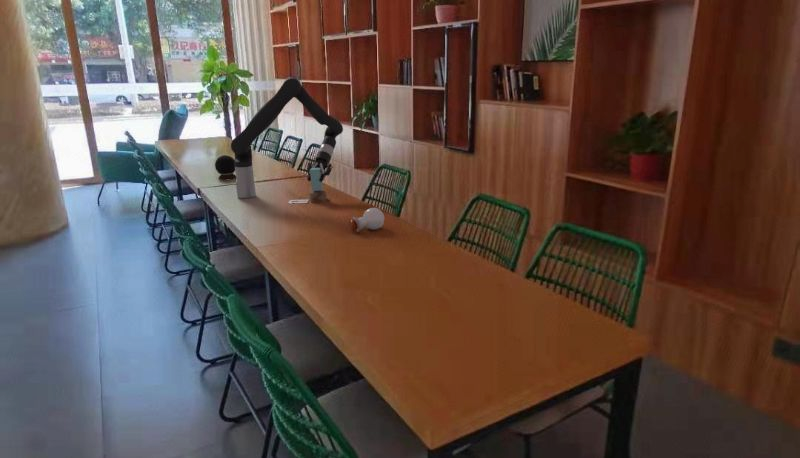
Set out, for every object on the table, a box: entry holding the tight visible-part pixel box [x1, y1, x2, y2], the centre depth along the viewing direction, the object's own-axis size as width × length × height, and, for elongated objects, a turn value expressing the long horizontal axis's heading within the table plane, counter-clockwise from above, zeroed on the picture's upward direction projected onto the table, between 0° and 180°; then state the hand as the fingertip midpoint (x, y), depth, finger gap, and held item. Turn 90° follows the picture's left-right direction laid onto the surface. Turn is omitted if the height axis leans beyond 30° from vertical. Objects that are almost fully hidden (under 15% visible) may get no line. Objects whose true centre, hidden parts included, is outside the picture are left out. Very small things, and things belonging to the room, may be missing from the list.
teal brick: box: [310, 168, 323, 191], centre depth 272 cm, size 5×5×11 cm
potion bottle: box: [348, 207, 385, 233], centre depth 221 cm, size 9×10×15 cm
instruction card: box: [287, 198, 310, 205], centre depth 273 cm, size 10×7×1 cm
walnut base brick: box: [308, 188, 327, 203], centre depth 275 cm, size 8×8×5 cm
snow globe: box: [214, 154, 236, 181], centre depth 337 cm, size 13×13×15 cm
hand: (314, 180), depth 271 cm, fingers closed on teal brick, 6 cm apart
